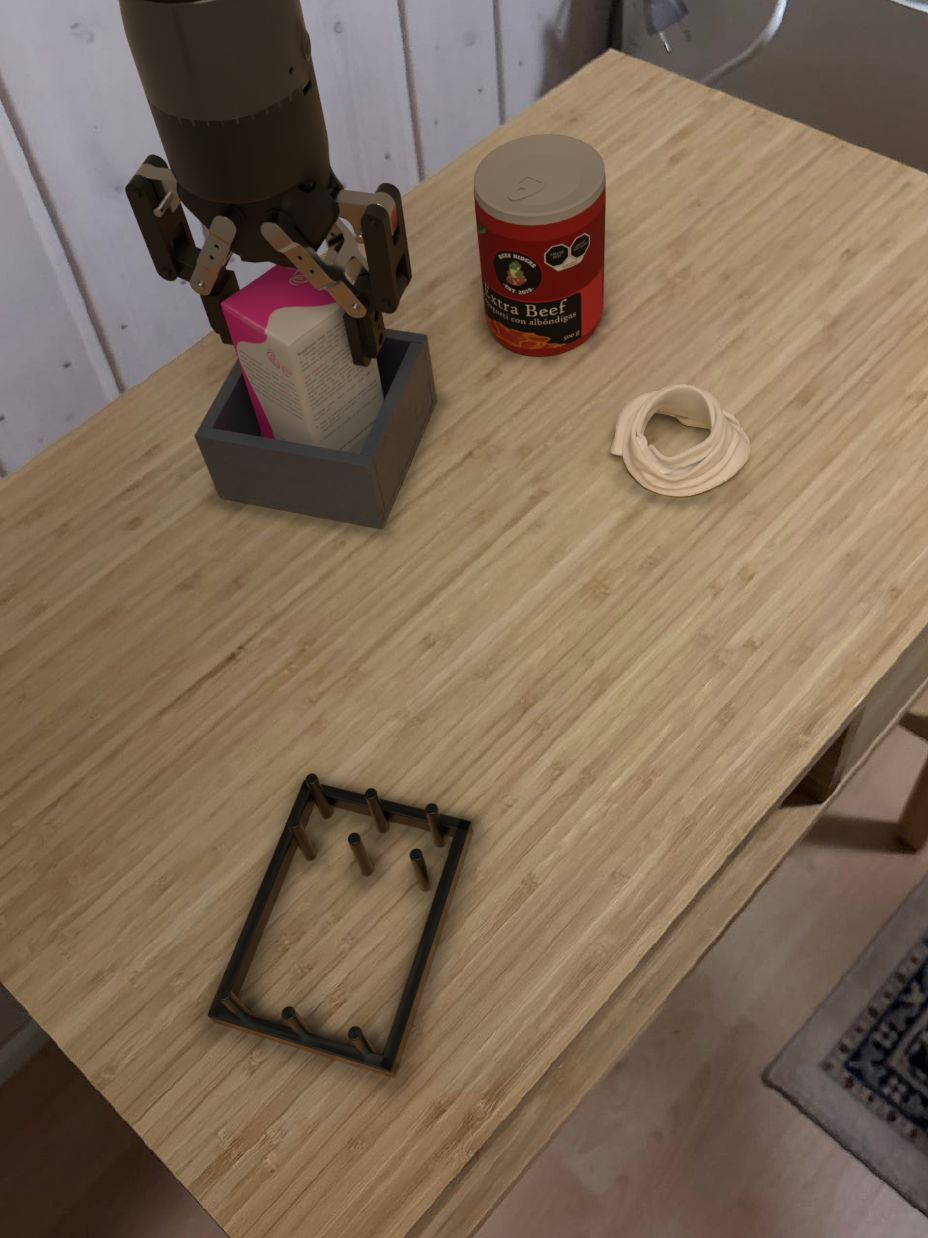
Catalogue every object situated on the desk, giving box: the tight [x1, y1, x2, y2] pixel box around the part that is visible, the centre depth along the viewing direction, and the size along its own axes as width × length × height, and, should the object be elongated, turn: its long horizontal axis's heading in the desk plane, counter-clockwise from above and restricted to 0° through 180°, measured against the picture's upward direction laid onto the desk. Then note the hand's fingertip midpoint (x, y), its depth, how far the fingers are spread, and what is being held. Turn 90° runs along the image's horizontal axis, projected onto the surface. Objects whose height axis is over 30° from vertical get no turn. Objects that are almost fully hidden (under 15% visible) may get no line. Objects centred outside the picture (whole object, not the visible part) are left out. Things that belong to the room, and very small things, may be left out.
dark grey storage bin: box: [194, 327, 438, 530], centre depth 69 cm, size 11×11×6 cm
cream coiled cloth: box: [609, 383, 752, 497], centre depth 67 cm, size 8×7×5 cm
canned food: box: [473, 133, 607, 357], centre depth 71 cm, size 8×8×11 cm
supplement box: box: [221, 264, 384, 454], centre depth 66 cm, size 6×6×12 cm
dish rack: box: [207, 772, 474, 1079], centre depth 53 cm, size 12×9×4 cm
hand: (301, 345), depth 64 cm, fingers closed on supplement box, 7 cm apart
